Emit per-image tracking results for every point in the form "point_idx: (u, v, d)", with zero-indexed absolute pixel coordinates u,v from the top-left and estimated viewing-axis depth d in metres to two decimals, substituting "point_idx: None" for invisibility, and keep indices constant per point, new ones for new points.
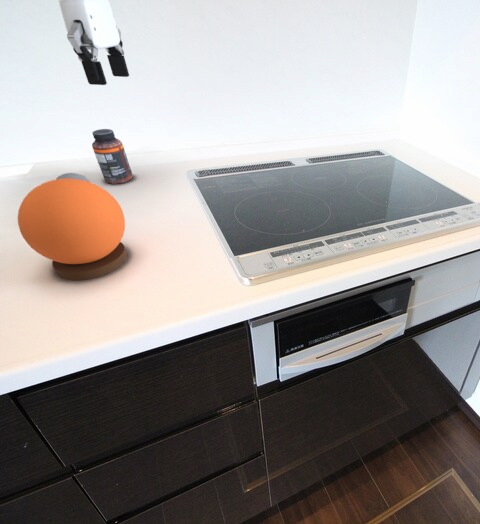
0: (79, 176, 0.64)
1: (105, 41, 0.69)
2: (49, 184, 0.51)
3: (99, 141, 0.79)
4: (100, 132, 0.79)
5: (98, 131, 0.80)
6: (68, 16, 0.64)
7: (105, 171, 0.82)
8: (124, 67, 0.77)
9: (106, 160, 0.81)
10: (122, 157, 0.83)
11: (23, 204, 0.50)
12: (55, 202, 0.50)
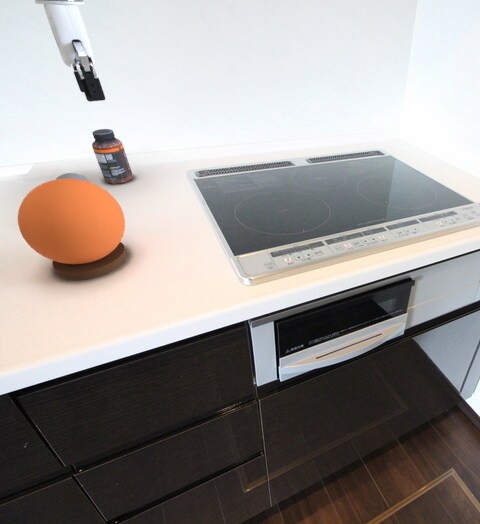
0: (79, 176, 0.64)
1: None
2: (49, 184, 0.51)
3: (99, 141, 0.79)
4: (100, 132, 0.79)
5: (98, 131, 0.80)
6: (66, 36, 0.66)
7: (105, 171, 0.82)
8: None
9: (106, 160, 0.81)
10: (122, 157, 0.83)
11: (23, 204, 0.50)
12: (55, 202, 0.50)
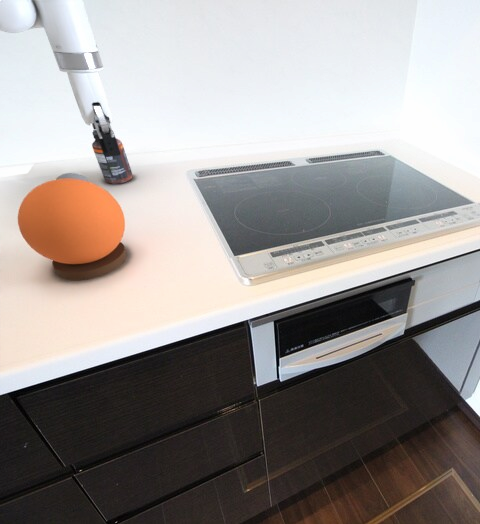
0: (79, 176, 0.64)
1: None
2: (49, 184, 0.51)
3: None
4: None
5: None
6: (87, 100, 0.72)
7: (105, 171, 0.82)
8: None
9: (106, 160, 0.81)
10: (122, 157, 0.83)
11: (23, 204, 0.50)
12: (55, 202, 0.50)
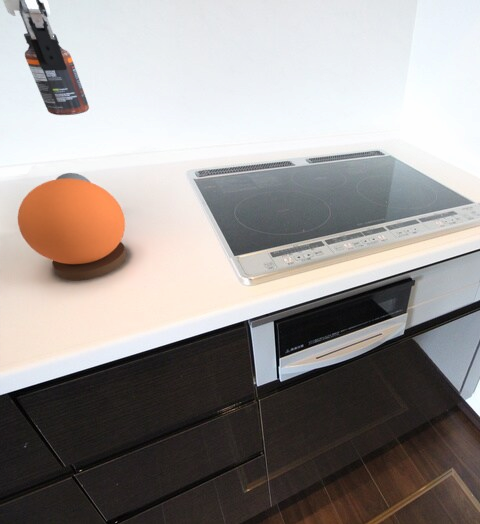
0: (79, 176, 0.64)
1: None
2: (49, 184, 0.51)
3: None
4: None
5: None
6: None
7: (46, 95, 0.57)
8: None
9: (45, 76, 0.56)
10: (70, 76, 0.58)
11: (23, 204, 0.50)
12: (55, 202, 0.50)
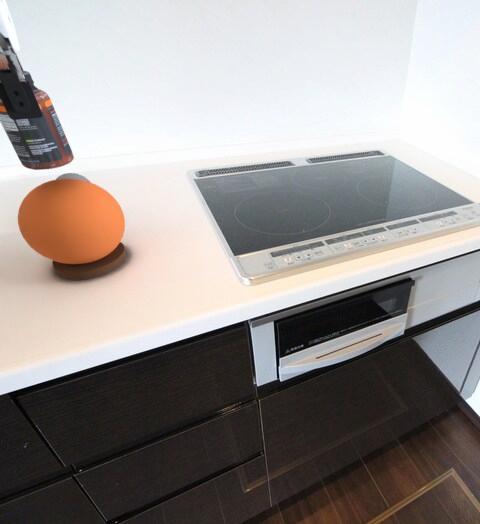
0: (79, 176, 0.64)
1: None
2: (49, 184, 0.51)
3: None
4: None
5: None
6: None
7: (18, 147, 0.46)
8: None
9: (16, 126, 0.44)
10: (49, 123, 0.46)
11: (23, 204, 0.50)
12: (55, 202, 0.50)
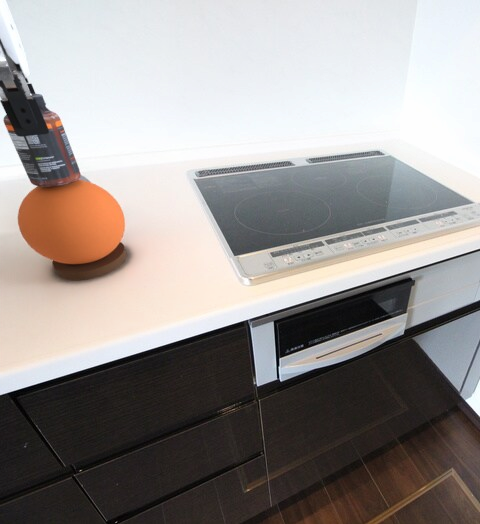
0: None
1: (27, 64, 0.43)
2: None
3: None
4: None
5: None
6: None
7: (28, 165, 0.48)
8: None
9: (27, 144, 0.46)
10: (58, 142, 0.48)
11: (23, 204, 0.50)
12: (55, 202, 0.50)
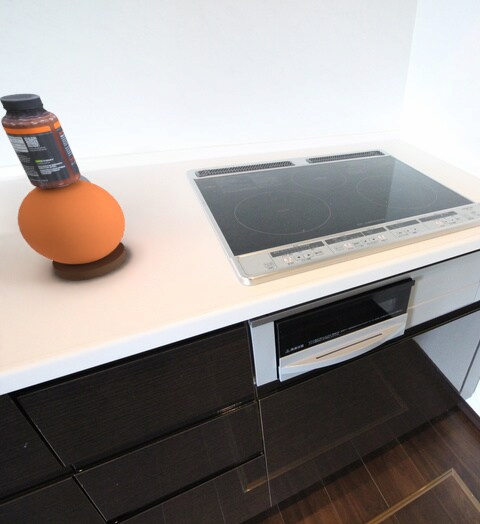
0: None
1: None
2: None
3: (11, 114, 0.45)
4: (14, 97, 0.45)
5: (11, 96, 0.45)
6: None
7: (28, 167, 0.48)
8: None
9: (26, 147, 0.46)
10: (57, 144, 0.48)
11: (23, 204, 0.50)
12: (55, 202, 0.50)
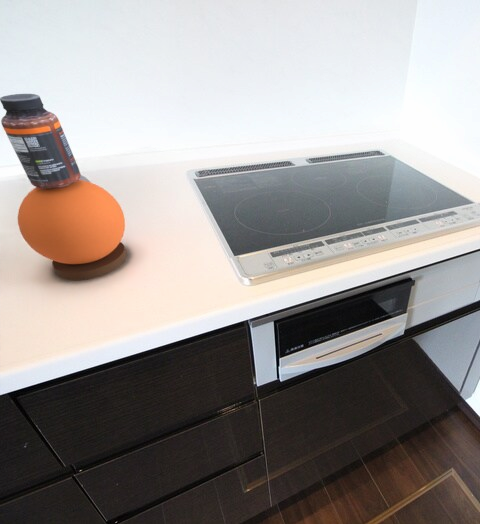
0: None
1: None
2: None
3: (12, 114, 0.45)
4: (14, 97, 0.45)
5: (11, 96, 0.45)
6: None
7: (28, 167, 0.48)
8: None
9: (26, 147, 0.46)
10: (57, 144, 0.48)
11: (23, 204, 0.50)
12: (55, 202, 0.50)
